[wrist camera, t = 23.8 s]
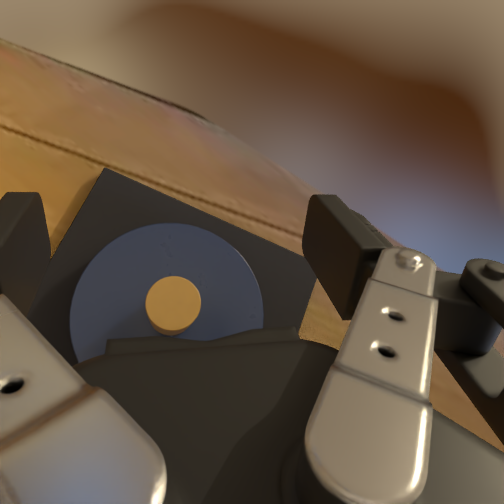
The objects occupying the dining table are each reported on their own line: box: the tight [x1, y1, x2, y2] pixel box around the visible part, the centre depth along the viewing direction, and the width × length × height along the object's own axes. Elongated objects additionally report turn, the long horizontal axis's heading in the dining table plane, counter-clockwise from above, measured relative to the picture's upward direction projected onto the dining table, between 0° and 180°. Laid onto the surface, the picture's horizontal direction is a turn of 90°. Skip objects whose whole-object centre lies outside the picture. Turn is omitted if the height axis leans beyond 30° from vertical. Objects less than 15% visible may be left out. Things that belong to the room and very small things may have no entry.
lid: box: [69, 223, 264, 363], centre depth 23 cm, size 12×12×6 cm
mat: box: [26, 168, 317, 367], centre depth 26 cm, size 17×15×1 cm
